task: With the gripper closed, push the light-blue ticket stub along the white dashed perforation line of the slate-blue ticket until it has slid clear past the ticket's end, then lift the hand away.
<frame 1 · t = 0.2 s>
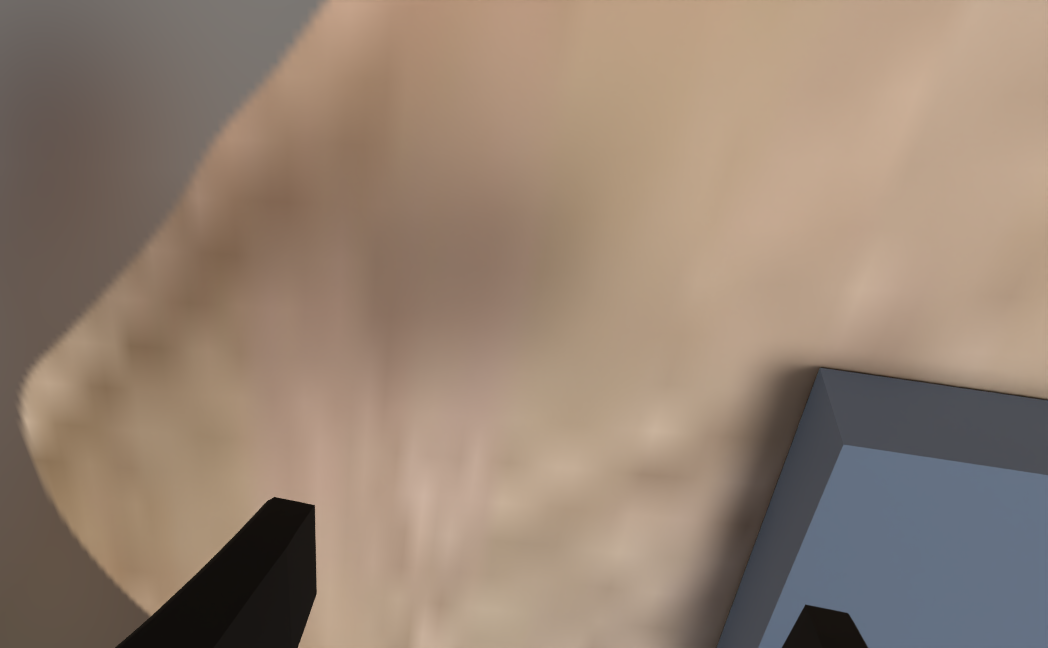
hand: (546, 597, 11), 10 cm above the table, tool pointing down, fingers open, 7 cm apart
ticket: (875, 564, 24), on the table
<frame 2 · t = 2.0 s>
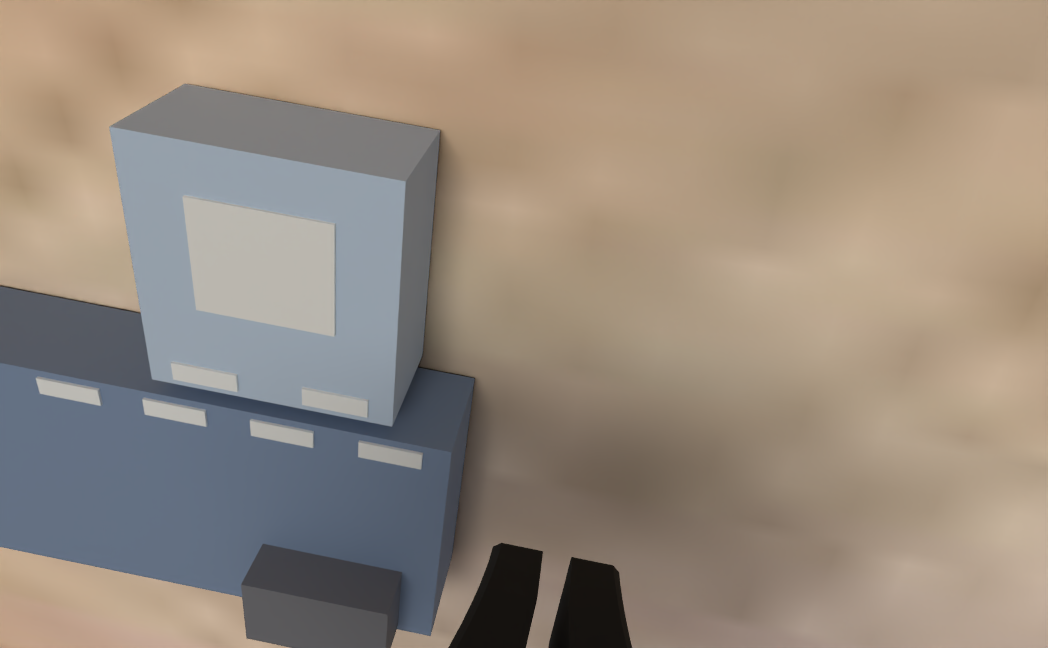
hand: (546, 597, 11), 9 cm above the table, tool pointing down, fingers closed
stub: (290, 259, 18), point 2 cm above the table, slide at 0.0 cm
ticket: (238, 429, 24), on the table
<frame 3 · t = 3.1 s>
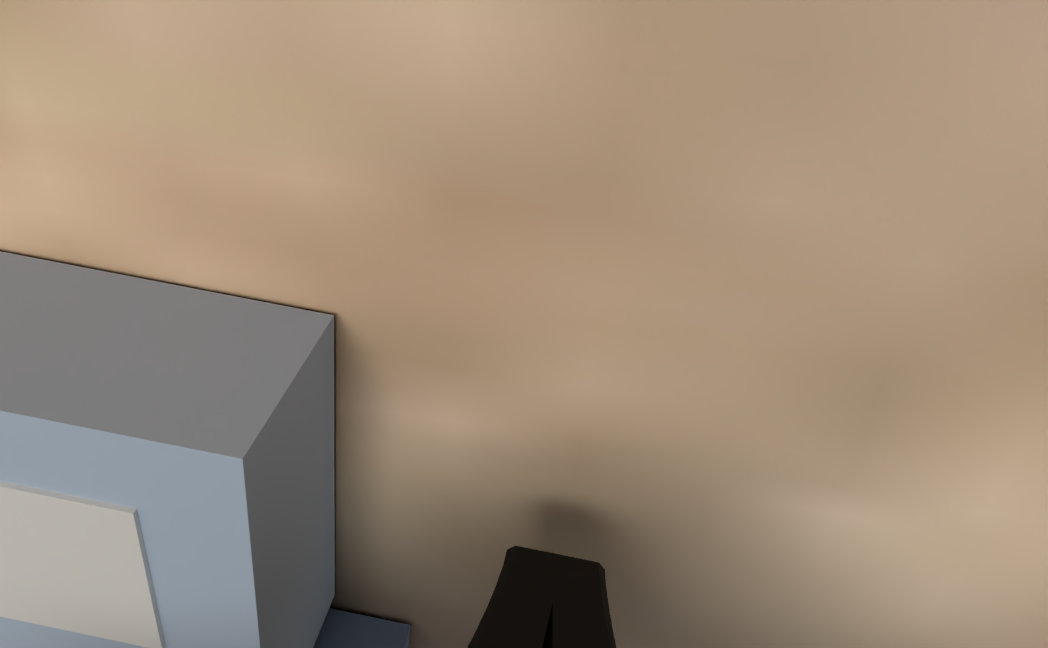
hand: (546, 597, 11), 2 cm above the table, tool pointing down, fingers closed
stub: (106, 507, 12), point 2 cm above the table, slide at 0.0 cm
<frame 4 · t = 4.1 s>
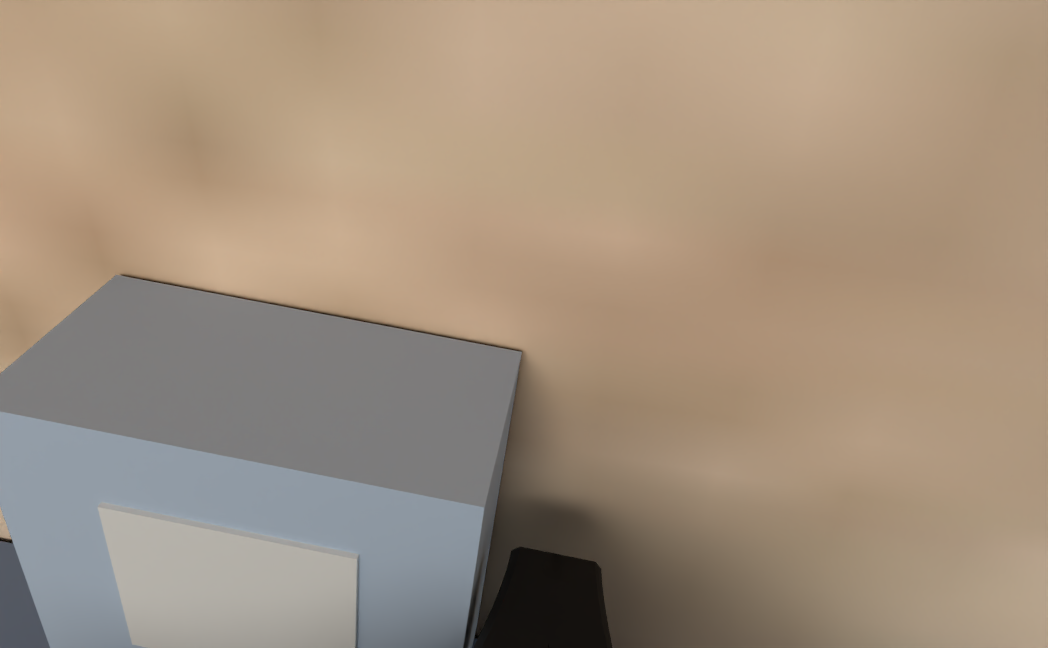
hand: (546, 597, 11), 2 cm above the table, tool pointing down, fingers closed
stub: (283, 543, 12), point 2 cm above the table, slide at 1.4 cm, touching gripper
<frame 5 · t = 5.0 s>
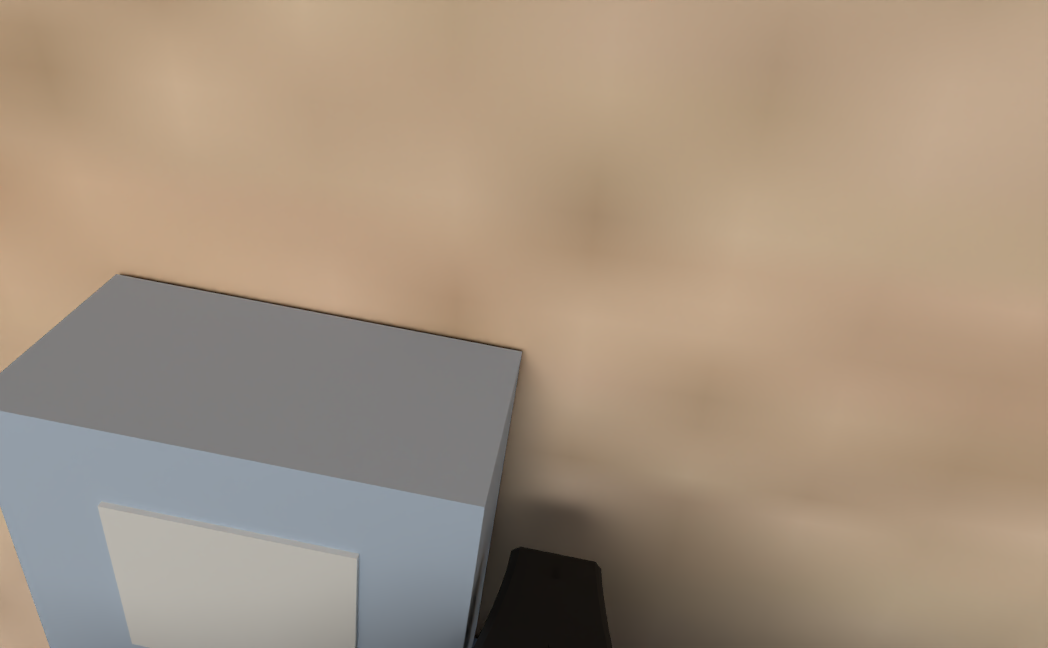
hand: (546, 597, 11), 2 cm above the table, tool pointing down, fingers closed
stub: (283, 543, 12), point 2 cm above the table, slide at 6.7 cm, touching gripper
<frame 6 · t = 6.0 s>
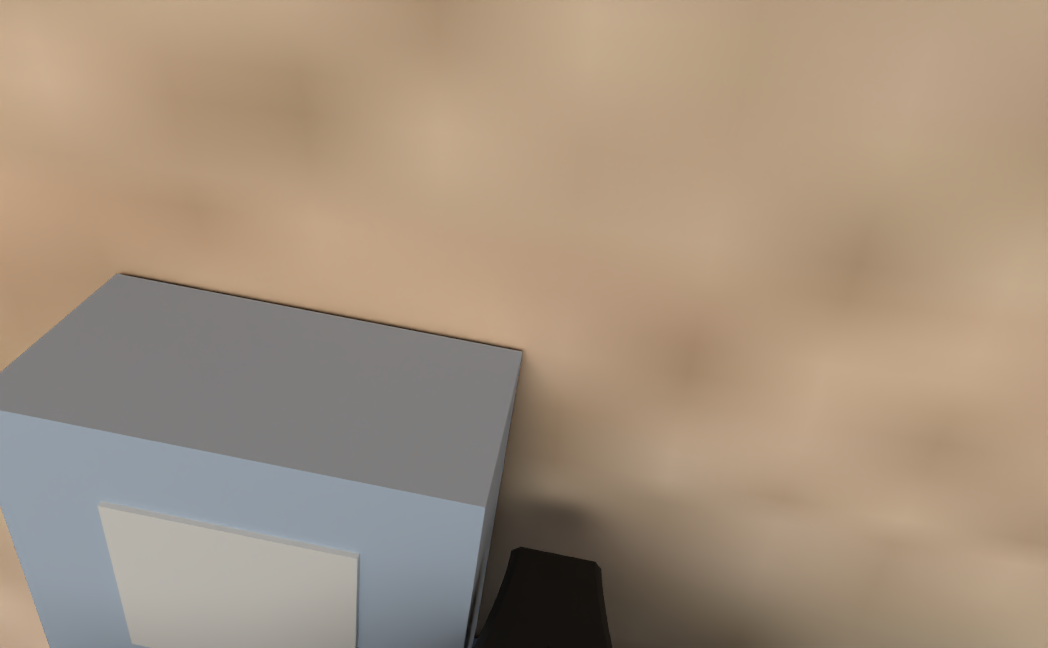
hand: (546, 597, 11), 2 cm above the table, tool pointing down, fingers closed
stub: (283, 543, 12), point 2 cm above the table, slide at 10.0 cm, touching gripper
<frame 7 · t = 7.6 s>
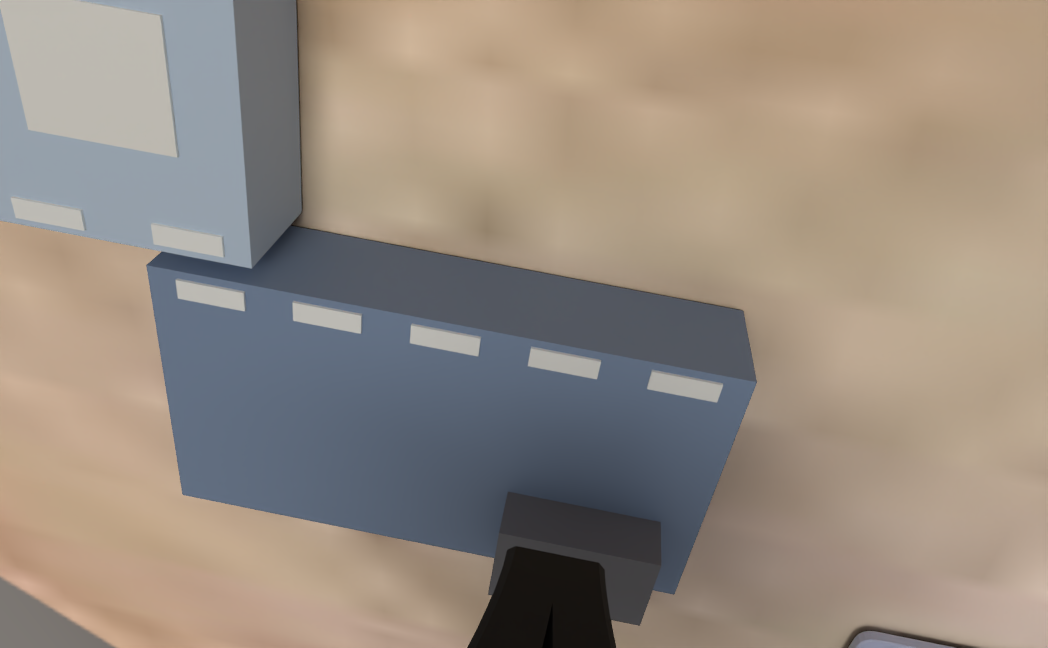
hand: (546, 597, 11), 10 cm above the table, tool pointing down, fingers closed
stub: (137, 84, 17), point 2 cm above the table, slide at 10.0 cm
ticket: (459, 373, 22), on the table
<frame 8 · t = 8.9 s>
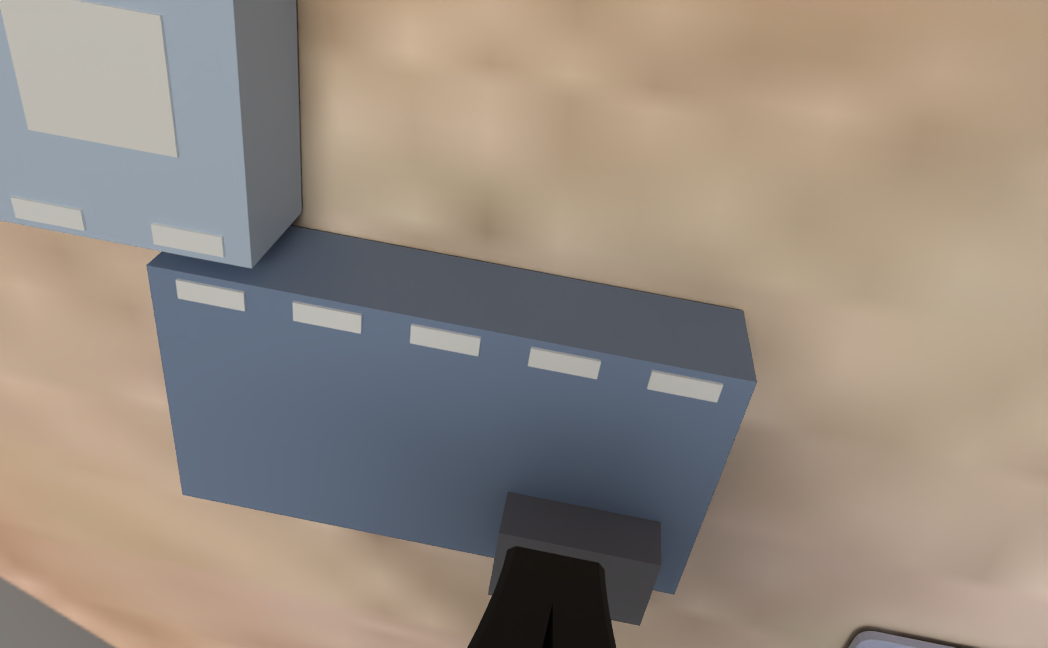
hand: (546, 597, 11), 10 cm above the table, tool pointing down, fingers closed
stub: (137, 84, 17), point 2 cm above the table, slide at 10.0 cm
ticket: (459, 373, 22), on the table
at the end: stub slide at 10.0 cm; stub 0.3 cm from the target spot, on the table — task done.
